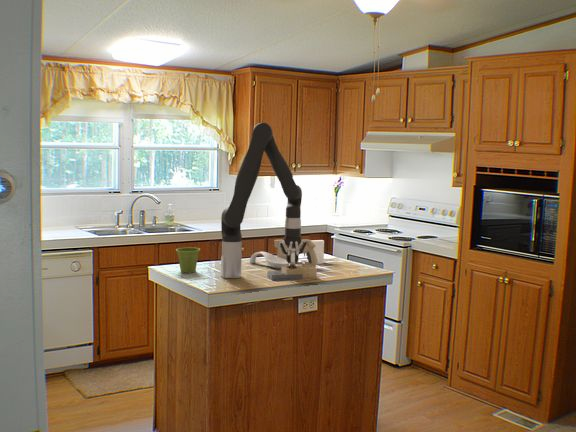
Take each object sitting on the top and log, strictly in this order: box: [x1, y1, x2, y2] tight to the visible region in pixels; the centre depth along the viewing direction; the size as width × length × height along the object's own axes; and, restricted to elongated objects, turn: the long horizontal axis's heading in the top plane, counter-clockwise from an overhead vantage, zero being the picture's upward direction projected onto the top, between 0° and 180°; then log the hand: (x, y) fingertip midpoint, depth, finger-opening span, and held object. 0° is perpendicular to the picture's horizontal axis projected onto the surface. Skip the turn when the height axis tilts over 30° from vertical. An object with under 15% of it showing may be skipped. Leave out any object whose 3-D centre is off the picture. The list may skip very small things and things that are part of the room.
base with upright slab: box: [306, 239, 325, 265], centre depth 327 cm, size 9×9×12 cm
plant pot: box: [175, 247, 201, 274], centre depth 294 cm, size 12×12×11 cm
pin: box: [288, 248, 296, 268], centre depth 286 cm, size 4×4×10 cm
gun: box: [273, 239, 318, 268], centre depth 315 cm, size 24×3×15 cm, turn 59°
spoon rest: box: [248, 251, 289, 269], centre depth 314 cm, size 24×12×7 cm, turn 56°
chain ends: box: [266, 265, 318, 281], centre depth 286 cm, size 22×9×5 cm, turn 106°
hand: (292, 262), depth 286 cm, fingers closed on pin, 3 cm apart
